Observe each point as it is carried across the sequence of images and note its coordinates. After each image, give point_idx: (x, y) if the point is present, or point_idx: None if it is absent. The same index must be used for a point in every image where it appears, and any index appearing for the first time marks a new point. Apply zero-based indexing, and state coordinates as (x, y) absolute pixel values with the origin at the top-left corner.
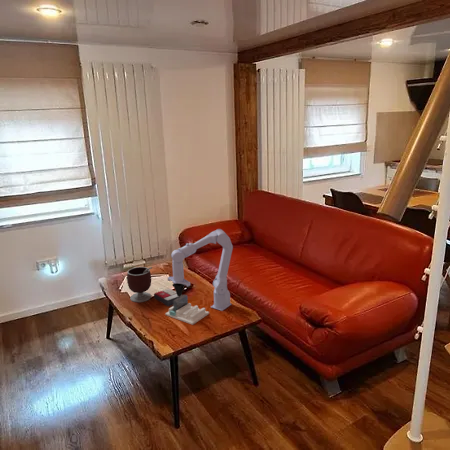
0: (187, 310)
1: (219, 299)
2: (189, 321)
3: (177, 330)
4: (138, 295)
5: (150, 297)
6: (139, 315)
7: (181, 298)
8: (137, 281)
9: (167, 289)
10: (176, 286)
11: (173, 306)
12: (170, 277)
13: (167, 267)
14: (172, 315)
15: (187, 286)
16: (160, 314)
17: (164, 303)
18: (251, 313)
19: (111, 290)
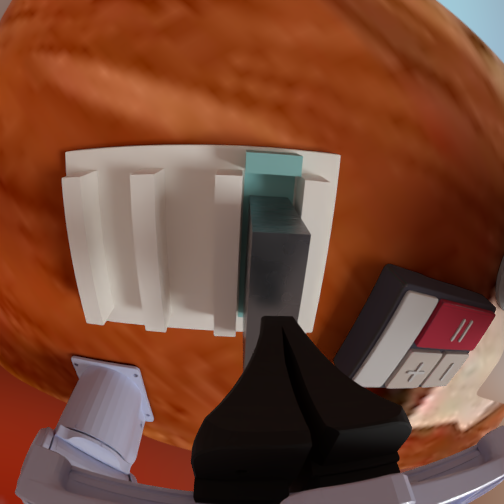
0: (212, 274)
1: (70, 405)
2: (91, 154)
3: (111, 37)
4: None
5: (498, 287)
6: (468, 87)
7: (253, 318)
8: None
9: (449, 376)
10: (287, 424)
11: (295, 212)
12: (483, 491)
13: (470, 442)
14: (263, 150)
15: (40, 447)
16: (373, 145)
17: (419, 276)
18: (6, 368)
19: None
